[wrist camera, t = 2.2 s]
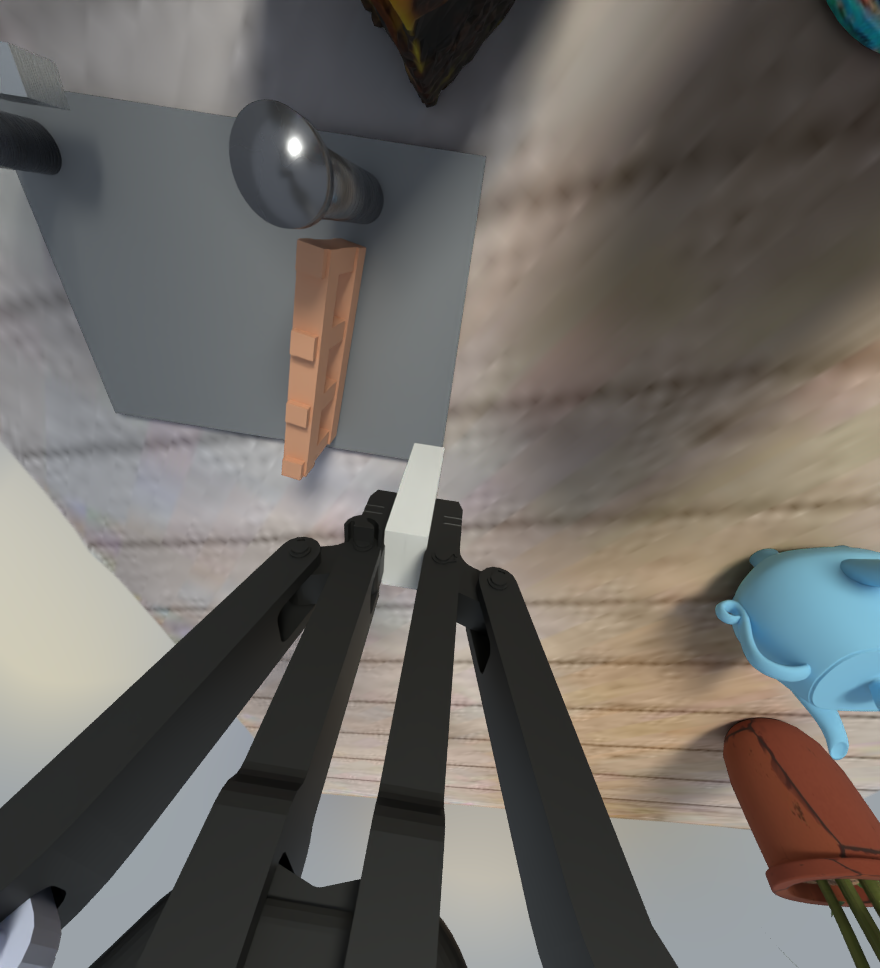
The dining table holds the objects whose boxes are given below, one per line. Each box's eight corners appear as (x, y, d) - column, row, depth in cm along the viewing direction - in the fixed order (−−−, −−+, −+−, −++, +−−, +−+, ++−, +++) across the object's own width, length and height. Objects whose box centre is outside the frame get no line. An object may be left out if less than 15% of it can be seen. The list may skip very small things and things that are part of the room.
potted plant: (820, 741, 49) (1300, 1456, 20) (694, 756, 55) (929, 1328, 26) (807, 678, 42) (1540, 1667, 13) (663, 702, 47) (945, 1423, 19)
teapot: (916, 582, 32) (1092, 720, 23) (755, 642, 39) (840, 768, 30) (840, 485, 28) (1019, 607, 19) (672, 571, 35) (742, 694, 25)
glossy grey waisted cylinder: (336, 157, 20) (219, 92, 11) (394, 166, 20) (323, 107, 11) (338, 228, 22) (238, 221, 13) (391, 236, 22) (328, 235, 13)
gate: (341, 238, 21) (293, 238, 16) (366, 247, 21) (327, 250, 16) (317, 429, 28) (279, 474, 23) (336, 435, 29) (302, 481, 23)
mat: (-10, 81, 19) (-23, 77, 19) (486, 158, 19) (486, 156, 19) (121, 410, 30) (115, 412, 30) (440, 461, 30) (439, 464, 30)
